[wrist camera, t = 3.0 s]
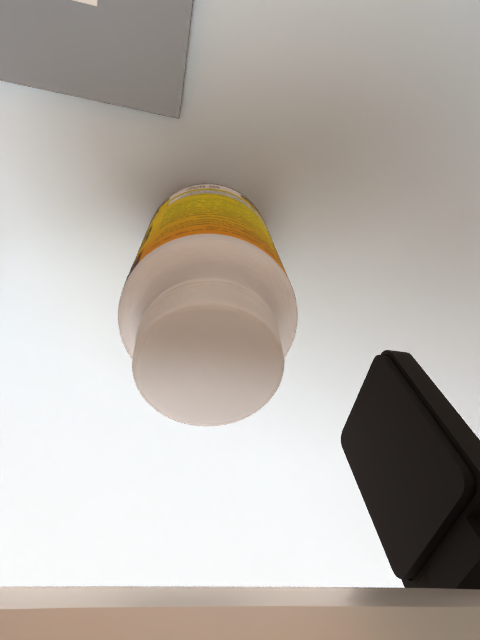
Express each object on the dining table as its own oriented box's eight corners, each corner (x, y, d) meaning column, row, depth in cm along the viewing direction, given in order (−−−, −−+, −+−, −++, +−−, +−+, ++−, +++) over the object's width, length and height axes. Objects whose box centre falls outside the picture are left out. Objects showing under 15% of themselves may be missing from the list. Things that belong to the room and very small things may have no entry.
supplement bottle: (142, 181, 18) (77, 272, 9) (268, 180, 18) (329, 266, 9) (154, 296, 20) (114, 454, 12) (264, 293, 21) (307, 444, 12)
